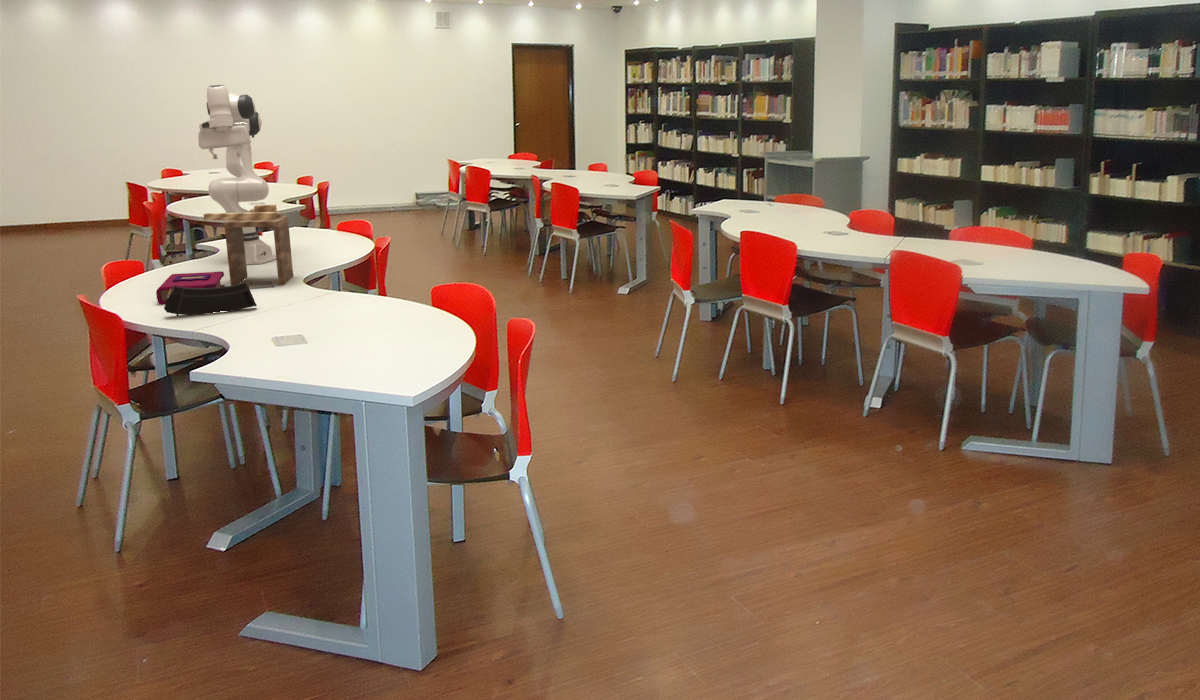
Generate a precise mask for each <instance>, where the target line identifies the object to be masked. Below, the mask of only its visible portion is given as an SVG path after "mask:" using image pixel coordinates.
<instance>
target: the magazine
mask: <svg viewBox="0 0 1200 700" xmlns="http://www.w3.org/2000/svg"><path fill="white" fill-rule="evenodd" d="M252 307H257V302H256V301H255V299H254V296H253V294H252V291H251V289H250V287H249V285H248V283H247V280H244V281H242V282H241V283H239V284H236V285H231V284H230V285H225V286H223V287H215V288H185V287H177V286H176V285H174V287H173V290H172V291H171V288H170V291H169V293H168V296H167V298H166V302H165V304H164V308H163V309H164V311H165V312H166V313H168V314H174V315H176V316H179V315H185V316H188V315H190V316H194V315H193V314H197V315H205V314H204V313H213V312H220V311H230V312H232V311H231V310H236V311H239V310H243V309H248V308H252Z"/></svg>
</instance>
